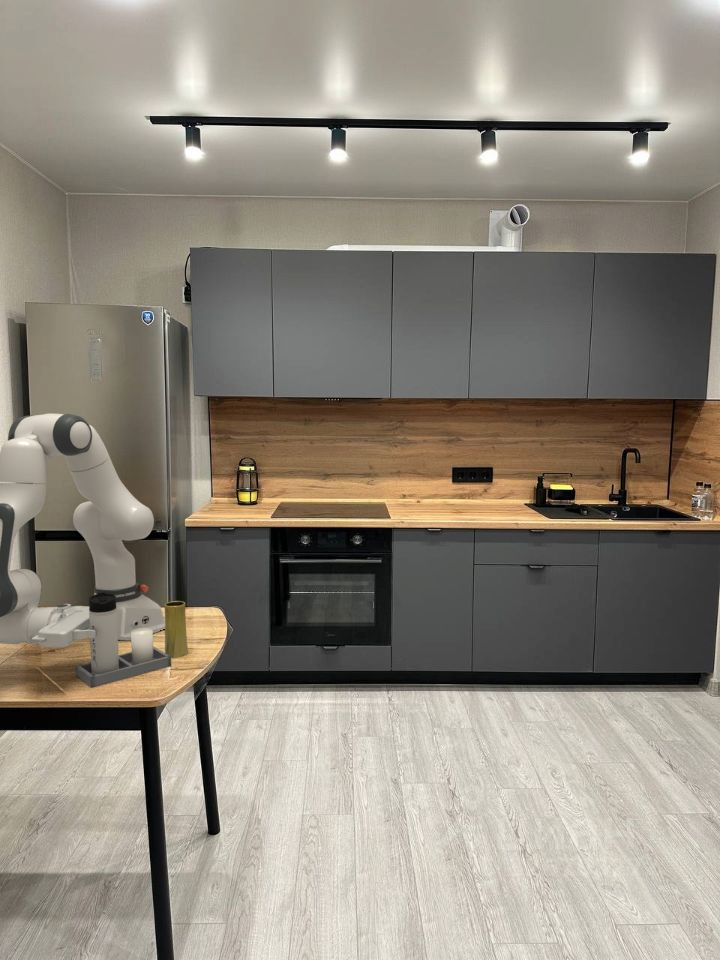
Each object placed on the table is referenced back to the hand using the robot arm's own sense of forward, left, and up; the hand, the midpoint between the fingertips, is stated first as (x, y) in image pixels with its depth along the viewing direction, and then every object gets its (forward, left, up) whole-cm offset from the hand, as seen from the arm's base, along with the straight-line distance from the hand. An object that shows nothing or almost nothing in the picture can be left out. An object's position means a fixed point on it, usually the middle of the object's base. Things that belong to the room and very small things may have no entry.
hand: (104, 626), depth 161 cm
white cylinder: (-9, 0, -12) cm, 15 cm away
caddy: (-5, 0, -13) cm, 14 cm away
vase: (-20, -2, -13) cm, 24 cm away
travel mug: (0, 0, -12) cm, 12 cm away
